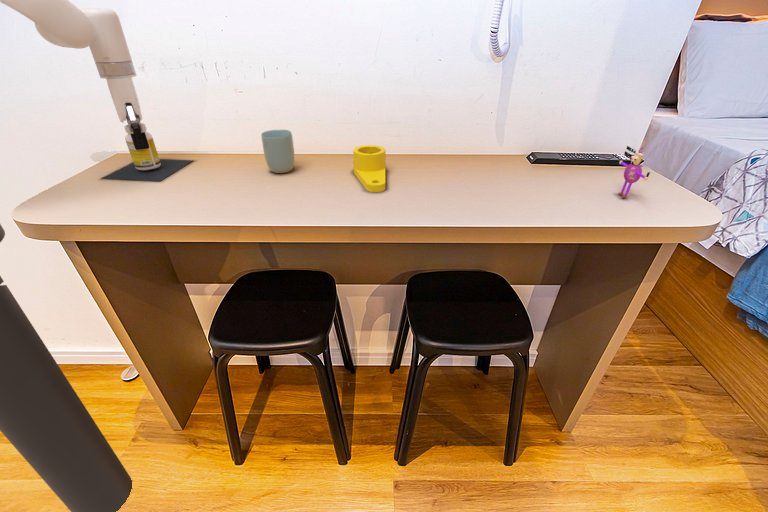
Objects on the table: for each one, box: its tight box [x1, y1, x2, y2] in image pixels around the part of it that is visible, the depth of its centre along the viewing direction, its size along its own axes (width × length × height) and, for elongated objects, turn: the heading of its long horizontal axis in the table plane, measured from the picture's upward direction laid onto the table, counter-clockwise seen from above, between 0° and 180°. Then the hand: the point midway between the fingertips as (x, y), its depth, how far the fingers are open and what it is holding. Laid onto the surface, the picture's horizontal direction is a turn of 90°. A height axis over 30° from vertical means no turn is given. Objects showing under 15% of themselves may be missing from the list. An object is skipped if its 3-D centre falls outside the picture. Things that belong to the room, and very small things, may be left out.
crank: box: [352, 144, 386, 193], centre depth 98 cm, size 18×8×6 cm, turn 9°
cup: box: [260, 129, 296, 174], centre depth 101 cm, size 8×8×10 cm
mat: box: [100, 158, 194, 182], centre depth 105 cm, size 16×16×1 cm
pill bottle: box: [124, 122, 161, 171], centre depth 101 cm, size 6×6×11 cm
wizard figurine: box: [617, 145, 651, 199], centre depth 87 cm, size 11×3×12 cm, turn 0°
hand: (141, 144), depth 101 cm, fingers closed on pill bottle, 6 cm apart
